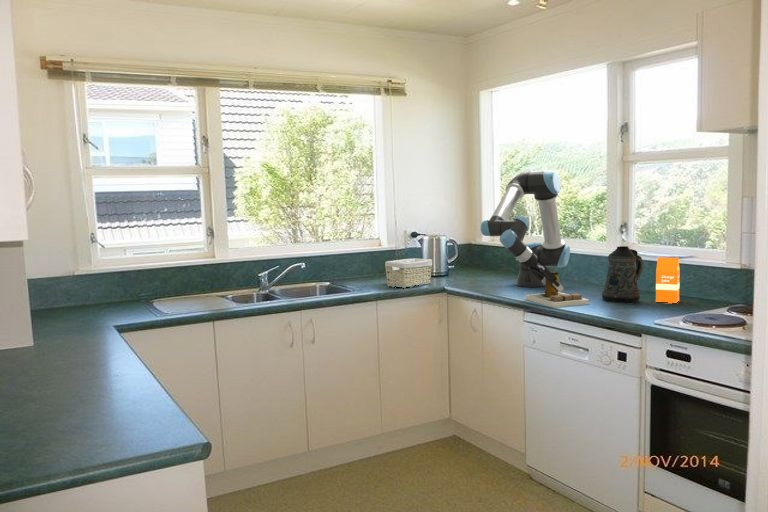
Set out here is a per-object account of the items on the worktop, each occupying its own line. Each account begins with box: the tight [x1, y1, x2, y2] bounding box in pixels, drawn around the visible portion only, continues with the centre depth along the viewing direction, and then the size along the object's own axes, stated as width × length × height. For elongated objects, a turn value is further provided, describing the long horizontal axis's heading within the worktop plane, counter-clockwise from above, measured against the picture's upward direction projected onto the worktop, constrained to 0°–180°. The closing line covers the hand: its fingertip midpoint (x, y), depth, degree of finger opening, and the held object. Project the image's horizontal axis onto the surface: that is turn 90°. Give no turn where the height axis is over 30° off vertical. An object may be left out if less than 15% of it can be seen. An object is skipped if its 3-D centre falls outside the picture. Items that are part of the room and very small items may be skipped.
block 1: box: [550, 295, 563, 302], centre depth 281 cm, size 4×4×4 cm
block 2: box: [559, 293, 572, 301], centre depth 282 cm, size 4×4×4 cm
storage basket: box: [384, 257, 433, 287], centre depth 356 cm, size 24×16×15 cm
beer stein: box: [601, 245, 644, 304], centre depth 288 cm, size 16×19×25 cm
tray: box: [525, 291, 590, 309], centre depth 289 cm, size 24×18×3 cm
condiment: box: [539, 270, 560, 298], centre depth 293 cm, size 7×8×12 cm
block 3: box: [569, 293, 583, 301], centre depth 284 cm, size 4×4×4 cm
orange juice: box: [655, 257, 681, 304], centre depth 282 cm, size 8×9×20 cm
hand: (556, 288), depth 295 cm, fingers open, 8 cm apart
